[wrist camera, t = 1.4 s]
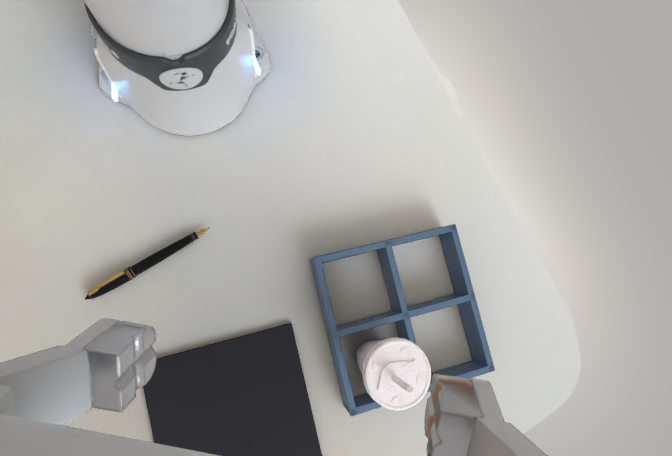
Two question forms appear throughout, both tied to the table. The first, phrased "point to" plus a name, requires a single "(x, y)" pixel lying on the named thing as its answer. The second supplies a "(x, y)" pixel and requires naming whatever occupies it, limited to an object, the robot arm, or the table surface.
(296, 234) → the table surface
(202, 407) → the mat
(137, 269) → the fountain pen
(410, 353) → the smoothie
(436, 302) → the blue compartment grid
